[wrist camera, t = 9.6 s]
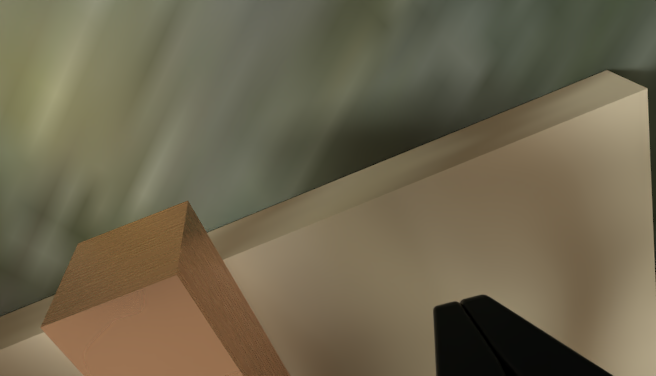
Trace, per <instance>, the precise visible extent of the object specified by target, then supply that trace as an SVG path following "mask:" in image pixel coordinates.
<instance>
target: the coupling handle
mask: <svg viewBox="0 0 656 376" xmlns="http://www.w3.org/2000/svg"><path fill="white" fill-rule="evenodd" d="M40 328H41V329H42V330H43V331H44V333H45V334H46V335H47V336H48V337H49V338H50V339H51V340H52V341H53V342H54V344H55V345H56V346H57V347H58V348H59V349H60V350H61V351H62V352H63V354H64V355H65V356H66V357H67V358H68V359H69V360H70V361H71V362H72V363H73V365H74V366H75V367H76V368H77V369H78V370H79V371H80V372H81V373H82V374H83V376H290V374H289V372H288V371H287V369H286V367H285V366H284V364H283V362H282V360H281V359H280V357H279V355H278V354H277V352H276V350H275V348H274V347H273V345H272V343H271V342H270V340H269V338H268V337H267V335H266V333H265V331H264V330H263V328H262V326H261V325H260V323H259V321H258V319H257V318H256V316H255V314H254V313H253V311H252V309H251V308H250V306H249V304H248V302H247V301H246V299H245V297H244V296H243V294H242V292H241V290H240V289H239V287H238V285H237V284H236V282H235V280H234V278H233V277H232V275H231V273H230V272H229V270H228V268H227V267H226V265H225V263H224V261H223V260H222V258H221V256H220V255H219V253H218V251H217V249H216V248H215V246H214V244H213V243H212V241H211V239H210V238H209V236H208V234H207V232H206V231H205V229H204V227H203V226H202V224H201V222H200V220H199V219H198V217H197V215H196V214H195V212H194V210H193V209H192V207H191V205H190V203H189V202H188V201H186V202H183V203H181V204H178V205H176V206H173V207H170V208H168V209H165V210H163V211H160V212H158V213H155V214H153V215H150V216H147V217H145V218H142V219H140V220H137V221H135V222H132V223H130V224H127V225H124V226H122V227H119V228H117V229H114V230H112V231H109V232H107V233H104V234H101V235H99V236H96V237H94V238H91V239H89V240H86V241H84V242H81V243H78V245H77V247H76V250H75V252H74V254H73V256H72V258H71V261H70V263H69V265H68V267H67V269H66V272H65V274H64V276H63V278H62V281H61V283H60V285H59V287H58V289H57V292H56V294H55V296H54V298H53V300H52V303H51V305H50V307H49V309H48V311H47V314H46V316H45V318H44V320H43V322H42V325H41V327H40Z"/></svg>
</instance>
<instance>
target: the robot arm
mask: <svg viewBox="0 0 656 376" xmlns="http://www.w3.org/2000/svg"><path fill="white" fill-rule="evenodd" d="M433 321H434V342H435V363H436V376H613V375H612V374H610V373H609V372H607V371H605V370H604V369H602V368H601V367H599V366H598V365H596V364H594V363H593V362H591V361H590V360H588V359H587V358H585V357H583V356H582V355H580V354H579V353H577V352H576V351H574V350H573V349H571V348H569V347H568V346H566V345H565V344H563V343H562V342H560V341H558V340H557V339H555V338H554V337H552V336H551V335H549V334H547V333H546V332H544V331H543V330H541V329H540V328H538V327H536V326H535V325H533V324H532V323H530V322H529V321H527V320H526V319H524V318H522V317H521V316H519V315H518V314H516V313H515V312H513V311H511V310H510V309H508V308H507V307H505V306H504V305H502V304H500V303H499V302H497V301H496V300H494V299H493V298H491V297H489V296H487V295H484V294H482V295H477V296H473V297H469V298H465V299H462V300H461V301H460V303H459V302H457V301H453V302H449V303H445V304H441V305H437V306H435V307H434V309H433Z"/></svg>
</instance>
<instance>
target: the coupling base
mask: <svg viewBox="0 0 656 376" xmlns="http://www.w3.org/2000/svg"><path fill="white" fill-rule="evenodd" d="M207 234H208V236H209V238H210V239H211V241H212V243H213V244H214V246H215V248H216V249H217V251H218V253H219V255H220V256H221V258H222V260H223V261H224V263H225V265H226V267H227V268H228V270H229V272H230V273H231V275H232V277H233V278H234V280H235V282H236V284H237V285H238V287H239V289H240V290H241V292H242V294H243V296H244V297H245V299H246V301H247V302H248V304H249V306H250V308H251V309H252V311H253V313H254V314H255V316H256V318H257V319H258V321H259V323H260V325H261V326H262V328H263V330H264V331H265V333H266V335H267V337H268V338H269V340H270V342H271V343H272V345H273V347H274V348H275V350H276V352H277V354H278V355H279V357H280V359H281V360H282V362H283V364H284V366H285V367H286V369H287V371H288V372H289V374H290V376H436V363H435V342H434V321H433V309H434V307H435V306H437V305H441V304H445V303H449V302H453V301H457V302H459V303H460V301H461V300H462V299H465V298H469V297H473V296H477V295H482V294H484V295H487V296H489V297H491V298H493V299H494V300H496V301H497V302H499V303H500V304H502V305H504V306H505V307H507V308H508V309H510V310H511V311H513V312H515V313H516V314H518V315H519V316H521V317H522V318H524V319H526V320H527V321H529V322H530V323H532V324H533V325H535V326H536V327H538V328H540V329H541V330H543V331H544V332H546V333H547V334H549V335H551V336H552V337H554V338H555V339H557V340H558V341H560V342H562V343H563V344H565V345H566V346H568V347H569V348H571V349H573V350H574V351H576V352H577V353H579V354H580V355H582V356H583V357H585V358H587V359H588V360H590V361H591V362H593V363H594V364H596V365H598V366H599V367H601V368H602V369H604V370H605V371H607V372H609V373H610V374H612V375H613V376H656V282H655V258H654V234H653V210H652V186H651V162H650V138H649V114H648V90H647V88H646V87H643V86H641V85H639V84H637V83H634V82H632V81H630V80H628V79H626V78H623V77H621V76H619V75H617V74H615V73H612V72H610V71H608V70H606V71H603V72H601V73H599V74H596V75H594V76H591V77H589V78H586V79H584V80H581V81H579V82H576V83H574V84H571V85H569V86H567V87H564V88H562V89H559V90H557V91H554V92H552V93H549V94H547V95H544V96H542V97H540V98H537V99H535V100H532V101H530V102H527V103H525V104H522V105H520V106H517V107H515V108H513V109H510V110H508V111H505V112H503V113H500V114H498V115H495V116H493V117H490V118H488V119H485V120H483V121H481V122H478V123H476V124H473V125H471V126H468V127H466V128H463V129H461V130H458V131H456V132H454V133H451V134H449V135H446V136H444V137H441V138H439V139H436V140H434V141H431V142H429V143H426V144H424V145H422V146H419V147H417V148H414V149H412V150H409V151H407V152H404V153H402V154H399V155H397V156H395V157H392V158H390V159H387V160H385V161H382V162H380V163H377V164H375V165H372V166H370V167H367V168H365V169H363V170H360V171H358V172H355V173H353V174H350V175H348V176H345V177H343V178H340V179H338V180H336V181H333V182H331V183H328V184H326V185H323V186H321V187H318V188H316V189H313V190H311V191H308V192H306V193H304V194H301V195H299V196H296V197H294V198H291V199H289V200H286V201H284V202H281V203H279V204H277V205H274V206H272V207H269V208H267V209H264V210H262V211H259V212H257V213H254V214H252V215H249V216H247V217H245V218H242V219H240V220H237V221H235V222H232V223H230V224H227V225H225V226H222V227H220V228H218V229H215V230H213V231H210V232H208V233H207ZM54 296H55V295H53V296H50V297H48V298H45V299H43V300H41V301H38V302H36V303H33V304H31V305H28V306H26V307H23V308H21V309H18V310H16V311H13V312H11V313H9V314H6V315H4V316H1V317H0V376H83V374H82V373H81V372H80V371H79V370H78V369H77V368H76V367H75V366H74V365H73V363H72V362H71V361H70V360H69V359H68V358H67V357H66V356H65V355H64V354H63V352H62V351H61V350H60V349H59V348H58V347H57V346H56V345H55V344H54V342H53V341H52V340H51V339H50V338H49V337H48V336H47V335H46V334H45V333H44V331H43V330H42V329H41V328H40V327H41V325H42V322H43V320H44V318H45V316H46V314H47V311H48V309H49V307H50V305H51V303H52V300H53V298H54Z"/></svg>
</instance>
